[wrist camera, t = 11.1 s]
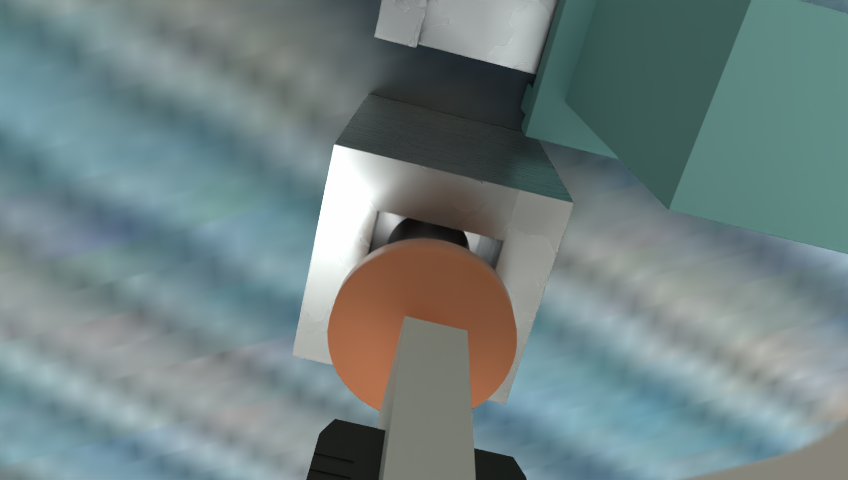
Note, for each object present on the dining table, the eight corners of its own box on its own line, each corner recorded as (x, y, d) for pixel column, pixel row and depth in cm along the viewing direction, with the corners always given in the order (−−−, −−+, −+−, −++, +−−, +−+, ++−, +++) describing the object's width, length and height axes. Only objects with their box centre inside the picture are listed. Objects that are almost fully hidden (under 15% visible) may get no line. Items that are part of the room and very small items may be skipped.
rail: (399, -50, 26) (393, -54, 23) (991, 105, 27) (1054, 120, 24) (381, 31, 27) (374, 37, 24) (952, 177, 28) (1008, 199, 25)
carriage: (571, -67, 25) (734, -126, 11) (727, -25, 25) (1083, -29, 11) (516, 119, 27) (591, 268, 13) (659, 155, 28) (879, 337, 14)
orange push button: (373, 167, 22) (348, 232, 16) (517, 203, 22) (541, 278, 16) (343, 298, 24) (311, 398, 18) (478, 329, 24) (487, 437, 18)
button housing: (368, 93, 27) (333, 144, 19) (535, 135, 28) (573, 203, 19) (335, 250, 30) (292, 355, 22) (489, 286, 30) (505, 404, 22)
